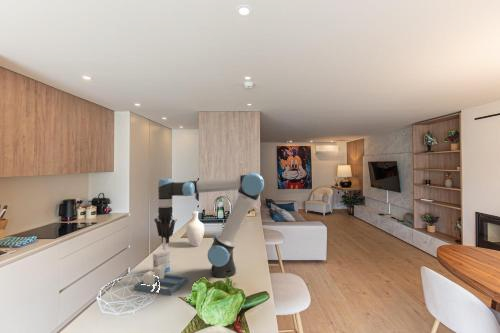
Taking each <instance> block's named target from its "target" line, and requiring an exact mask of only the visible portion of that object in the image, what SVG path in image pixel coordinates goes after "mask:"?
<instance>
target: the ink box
mask: <svg viewBox="0 0 500 333" xmlns="http://www.w3.org/2000/svg"><path fill="white" fill-rule="evenodd" d="M170 255H171V254H170V251H168V250H163V251H159V252H157V253H153V254H152V272H154V268H156V267H157V266H160V265H162V266H163V267H164V273H165V274H166V273H167V272H170V271H171V266H170V265H171V264H170V262H171V261H170V257H171V256H170Z"/></svg>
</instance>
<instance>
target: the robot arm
mask: <svg viewBox="0 0 500 333" xmlns="http://www.w3.org/2000/svg"><path fill="white" fill-rule="evenodd" d="M264 187H265V180H264V178H263V176H262V175H261V174H259V173H257V172H249V173H246V174H239V176H237V177H223V178H215V179H214V178H213V179H202V180H200V179H199V180H188V181H181V182H179V181H178V182H175V181H173V179H172V178H159V180H158V186H157V191H158V193H157V198H158V199H157V200H158V201H157V202H158V203H157V206H158V208H157V210H158V211H157V212H158V213H157V214H158V216H157V218H154V222H155V226H156V229H157V235H158V237H161V243H162V250H163V251H167V250H168V248H169V243H170V237H172V236H173V234H174V231H175V230H174V229H175V225H176V222H177V219H176V218H174V216H173V197H176V196H177V197H189V196H193V195H194V194H199V193H200V194H201V193H214V192H225V191H227V192H228V191H237V193H238V196H237V198H236V200H235V202H234V205H233V206H232V208H231V210H230V212H229V215H228V217H227V219H226V221H225V223H224V225H223V228H222V229H221V231H220V233H216V234H214V235H213V238H212V239H213V241H212V244H211V246H210V248H209V249H208V251H207V260H208V262H209V263H210V264H211V268H210V275H211V276H212V277H213V278H220V279H221V278H225V279H226V278H229V277H232V276H234V275H235V274H237V267H236V263H235V262H234V248H235V246H236V243H235V240H236V238H237V236H238V234H239V232H240V229H241V227H242V226H243V224H244V222H245V220H246V217H247V215H248V214H249V213H248V212H249V211H250V209H251V207H252V205H253V203H254V202H257V201H258V199H259V197H260V195H261V192H262V191H263V190H264ZM226 276H228V277H226Z"/></svg>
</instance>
